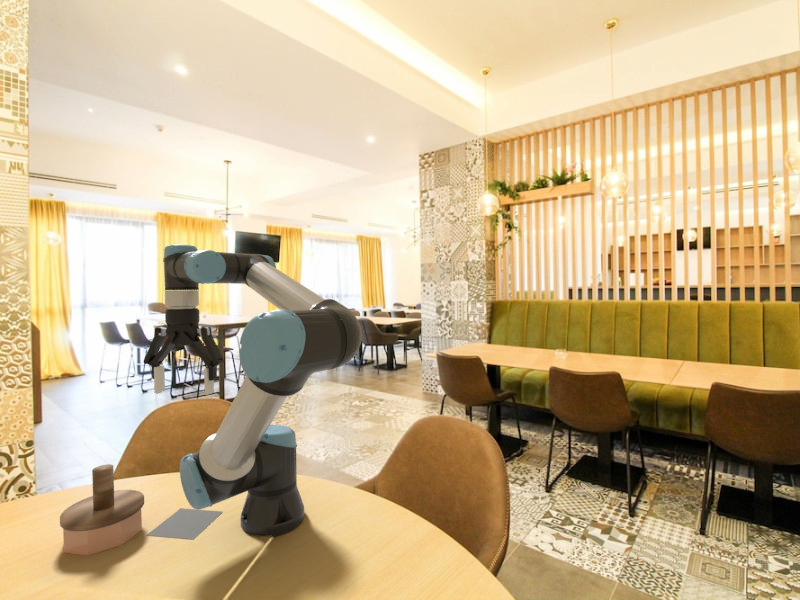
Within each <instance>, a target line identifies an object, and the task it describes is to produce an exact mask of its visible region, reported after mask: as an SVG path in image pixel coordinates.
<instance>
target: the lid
mask: <svg viewBox="0 0 800 600" xmlns="http://www.w3.org/2000/svg"><path fill="white" fill-rule="evenodd" d="M91 471H92V473H91V474H92V478H91V479H92V495H91V496H88V497H86V498H83V499H82V500H80V501H77V502H75V503H72V504H70V506H68V507H67V508H65V510H63V512H61V513H60V516H59V526H60V528H62V529H65V530H69V531H87V530H94V529H98V528H102V527H106V526H109V525H112V524H115V523H118V522H120V521H123V520H125V519H127V518H129V517H130V516H132V515H134V514H135V513H137V512H138V511H139V510H140V509H141V510H142V508H143V506H144V505H145V495H144V493H143V492H141V491H139V490H135V489H118V490H115V478H114V476H115V475H114V474H115V473H114V472H115V471H114V464H110V463H109V464H102V465H98V466H95V467H94V468H93V469H92V470H91Z"/></svg>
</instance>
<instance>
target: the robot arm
mask: <svg viewBox="0 0 800 600" xmlns="http://www.w3.org/2000/svg"><path fill="white" fill-rule="evenodd" d="M162 262H163V272H164V273H163V274H164V275H163V276H164V306H165V307H166V308H167V309H166V310H164V313H165V314H164V316H165V318H164V319H165V323H166V326H158V327H155V328H154V335H153V339H152V340H151V343H150V345H149V347H148V350H147V352H146V354H145V356H144V359H143V364H145V365H149V366H150V367H151V379H152V380H153V381H154V382H153V385H154V387H153V388H154V394H159V393H162V392H164V391H166V387H165V386H166V383H165V382H166V381H165V380H166V379H165V365H163V364H164V363H163V362H164V361H165V359H166V358H167V357H168V356H169V355H170V353H171V352H172V350H173V348H174V347H176V346H177V347H178V346H185V347H186V346H189V347H190V348H192V349H193V350H194V352H195V353H196V354H197V355H198V357H199V358H200V359H201V361H202V362H203V363H204V365H205V366H206V367H204V368H203V369H204V372H203V374H204V375H203V379H204V395H205V396H209V395H210V394H213V393H215V382H214V381H216V380H217V378H218V377H217V368H218V366H219V365H222V364H224V363H225V360H224V358H223V356H222V354H221V351H220V349H219V347H218V346H217V345H218V344H217V343H216V341H215V339H214V337H213V335H212V333H213V332H212V328H211V327H210V326H205V327H201V328H200V326H199V323H200V309H199V308H198V306H199V305H200V288H199V284H202V285H203V284H204V285H205V284H234V285H235V284H242V285H246V286H247V287H248V288H250V289H251V290H253V291H255V293H257V294H258V295H260V296H261V297H262V298H264V299H265V300H266V301H267V302H268V303H270V304H272V305H273V306H274V307H276V308H277V309H275V310H272V311H266V312H261V313H259V314H256V315H255V316H254V317H252V318H251V319H250V320H249V321H248V322H247V323H246V325H245V327H244V328H243V331H242V333H241V335H240V340H239V345H241V346H240V348H238V352H239V353H238V354H239V355H238V356H239V361H240V366H241V369H242V370H243V372H244V375H245V378H244V379H243V382H242V383H241V385H240V388H239V389H238V391H237V393H236V395H235V397H234V399H233V401H232V402H231V404H230V406H229V409H228V410H227V412H226V413H225V416H224V417H223V419H222V422H221V423H220V426H219V427H218V429H217V431H216V432H215V433H213V434H211V435H210V436H208V437H207V438H206V439H205V440H204V441H203V442H202V444H201V445H200V448H199V450H198V451H196V452H193V453H192V452H190V453H188V454H186V455H184V456H183V457H182V458H181V459H180V461H179V477H180V481H181V482H180V483H181V486H182V491H183V492H184V497H185V498H186V501H187V503H188V504H189V506H191V507H192V508H193V509H196V510H204V509H206V508H209V507H210V508H211V507H213V505H216V504H218V503H221V502H223V501H225V500H229V499H231V498H233V497H235V496H238V495H241V494H244V493H246V492H247V494H246V498H245V502H244V504H243V507H242V511H241V513H240V527H241V529H242V530H243V532H245V533H247V534H248V535H253V536H258V537H268V536H270V538H271V537H277V536H282V535H284V534H286V533H289V532H291V531H293V530H294V529H296V528H297V527H298V526H299V525H301V523H303V521H304V518H305V504H304V503H303V499H302V496H301V494H300V491H299V488H298V486H297V485H298V483H297V482H298V480H297V477H298V476H297V447H298V444H297V438H296V432H295V430H294V429H292V428H291V427H288V426H286V425H280V424H272V423H273V421H274V419H275V417H276V416H277V414H278V412H279V411H280V409H281V408H282V406H283V405H284V403H285V401H286V400H287V398H288V397H292V396H294V395H296V394H298V393H299V392H300V391H302V389H303V387H304V386H305V385H306V383H307V382H308V379H309V378H310V377H311V375H313V374H314V373H319V372H324V371H329V370H334V369H338V368H341V367H344V366H345V365H346V364H348V363H349V362H350V361H351V360H353V359H354V357H355V356H356V355H357V353H358V351H359V349H360V347H361V344H362V338H363V335H362V327H361V323H360V321H359V320H358V318H357V317H356V315H355V314H354V313H353V312H352V311H351V310H350V309H349V308H348V307H346V305H344V304H341V303H340V302H339V301H338V300H335V299H332V298H326V299H325V298H323V297H322V296H320V295H318V294H317V293H316V292H314V291H313V290H311V289H309V288H308V287H306V286H304V285H303V284H302V283H300V282H298V281H297V280H295V279H294V278H292V277H290V276H289V275H287V274H285V273H284V272H283V271H281V270H279V269H278V268H277V266H276V262H274V259H273V257H271V256H269V255H267V254H266V255H264V254H260V253H237V252H223V251H221V252H220V251H214V250H212V249H198V248H197V247H196V246H195V245H189V244H167V245H166V246H165V247H164V249H163V261H162ZM166 335H167V337H168V338H167V339H165V338H166ZM200 336H201V339H202V340H201V339H200ZM164 340H165V341H164ZM202 341H203V342H202Z"/></svg>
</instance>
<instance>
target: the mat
mask: <svg viewBox="0 0 800 600" xmlns="http://www.w3.org/2000/svg"><path fill="white" fill-rule="evenodd" d="M223 513H224V511H222V510H221V511H220V510H209V509H208V510H207V509H206V510H205V509H194V508H193V509H192V508H182V507H181V508H179V509H178V510H177V511H175V512H174V513H173V514H172V515H170V516H168V517H167V518H166V519H165V520H164V521H162V522H161V523H160V524H159V525H157V526H156V527H155V528H154V529H152V530H151V531H150V532H148V533H146V536H148V537H158V538H159V537H160V538H171V539H182V540H195V539H196V538H197V537H198V536H199V535H200V534H201V533H202V532H203V531H204V530H206V529H207V528H208V527H209V526H210V525H211V524H212V523H214V521H215V520H216V519H217V518H218V517H220V515H221V514H223Z"/></svg>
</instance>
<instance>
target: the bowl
mask: <svg viewBox="0 0 800 600" xmlns="http://www.w3.org/2000/svg"><path fill="white" fill-rule="evenodd" d="M142 518H143V517H142V508H141V509H140V510H139V511H138V512H137V513H135V514H134V515H132V516H130V517H129V518H127V519H125V520H123V521H120V522H118V523H115V524H112V525H109V526H106V527H102V528H98V529H94V530H87V531H69V530H65V529H63V528H62V529H63V530H62V531H63V532H62V533H63V535H62V536H63V554H70V555H71V554H72V555H81V556H82V555H83V556H91V555H93V554H97V553H101V552H104V551H106V550H107V551H108V550H111V549H113V548H117V547H119V546H122V545H124V544H125V543H126V542H127V541H129V540H130V539H131V538H133V537H134V536H136V535H137V534H138V533H140V531H142V530H143V527H142V526H143V524H142V523H143V522H142V521H143V520H142Z"/></svg>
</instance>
